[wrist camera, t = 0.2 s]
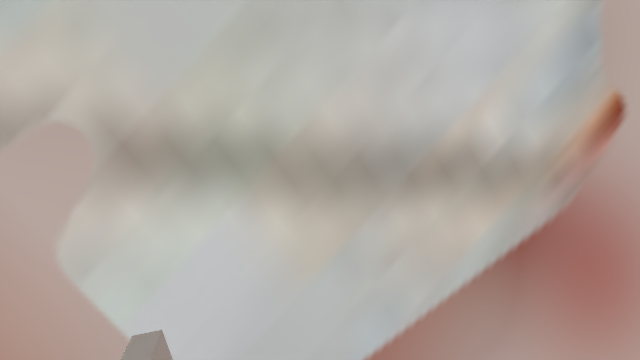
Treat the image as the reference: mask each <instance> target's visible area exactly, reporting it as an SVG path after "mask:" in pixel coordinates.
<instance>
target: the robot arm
mask: <svg viewBox="0 0 640 360" xmlns="http://www.w3.org/2000/svg"><path fill="white" fill-rule="evenodd" d="M121 360H173V359H172V356H171V353H170V350H169V348H168V345H167V342H166V340H165V337H164V334H163V332H162V330H159V331H154V332H149V333H145V334H140V335H135V336H132V338H131V340H130V342H129V344H128V346H127V348H126V350H125V352H124V354H123V356H122V358H121Z"/></svg>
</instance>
